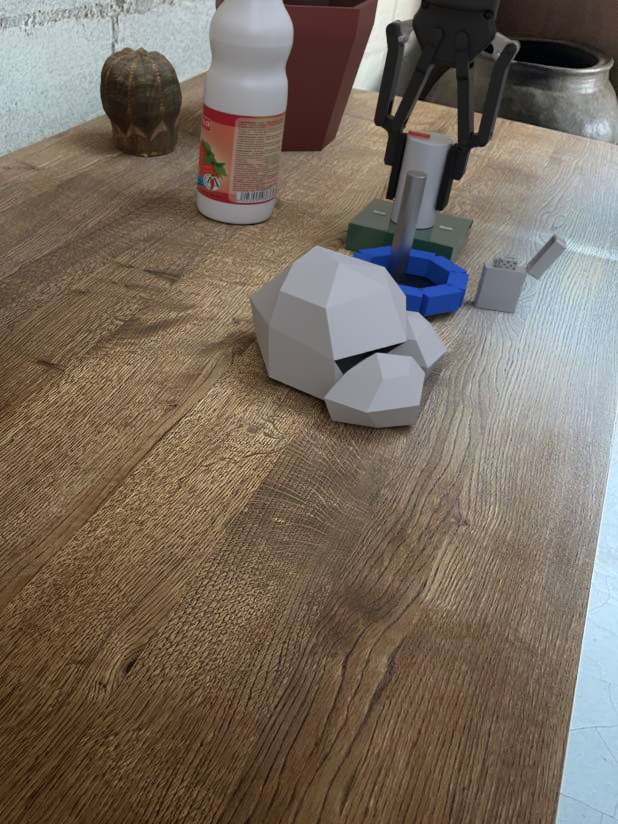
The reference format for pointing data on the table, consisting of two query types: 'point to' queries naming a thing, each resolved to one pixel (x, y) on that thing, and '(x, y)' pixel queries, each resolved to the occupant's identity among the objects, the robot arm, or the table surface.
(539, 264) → the lighter
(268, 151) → the fruit juice
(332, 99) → the bucket
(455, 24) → the robot arm
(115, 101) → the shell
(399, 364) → the rock
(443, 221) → the panel
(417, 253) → the ring
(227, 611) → the table surface
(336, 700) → the table surface
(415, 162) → the tap knob
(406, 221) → the peg stand
